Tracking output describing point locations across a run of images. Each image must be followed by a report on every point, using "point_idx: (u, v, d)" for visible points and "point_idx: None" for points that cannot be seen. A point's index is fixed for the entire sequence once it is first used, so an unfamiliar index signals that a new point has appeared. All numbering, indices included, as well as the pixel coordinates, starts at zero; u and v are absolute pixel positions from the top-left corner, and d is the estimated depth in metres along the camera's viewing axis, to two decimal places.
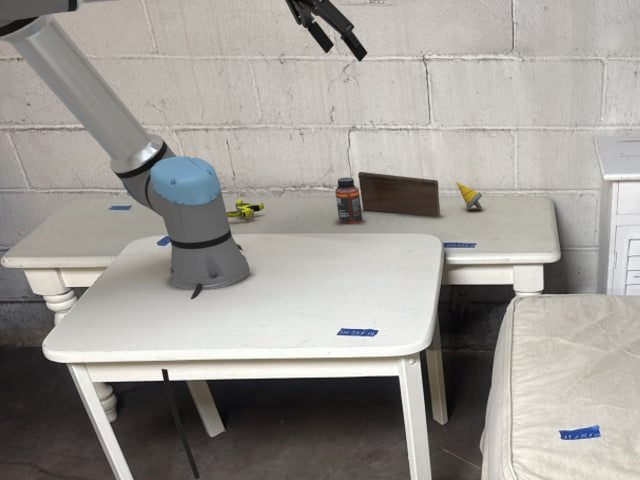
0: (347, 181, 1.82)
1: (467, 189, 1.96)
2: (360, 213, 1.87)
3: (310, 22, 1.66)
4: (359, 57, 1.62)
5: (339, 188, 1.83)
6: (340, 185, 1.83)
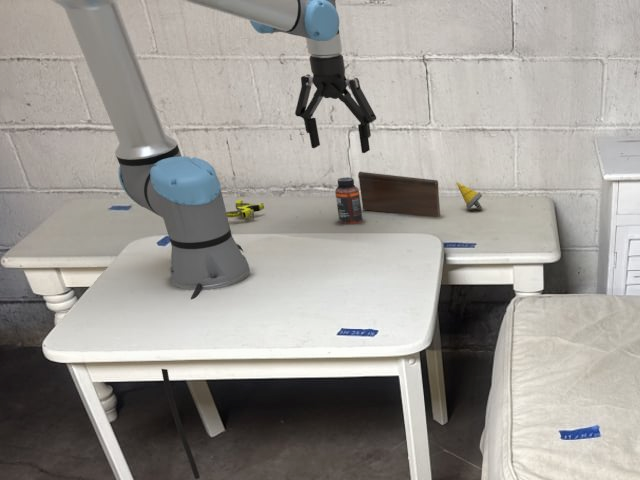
0: (347, 181, 1.82)
1: (467, 189, 1.96)
2: (360, 213, 1.87)
3: (310, 116, 1.75)
4: (365, 149, 1.75)
5: (339, 188, 1.83)
6: (340, 185, 1.83)
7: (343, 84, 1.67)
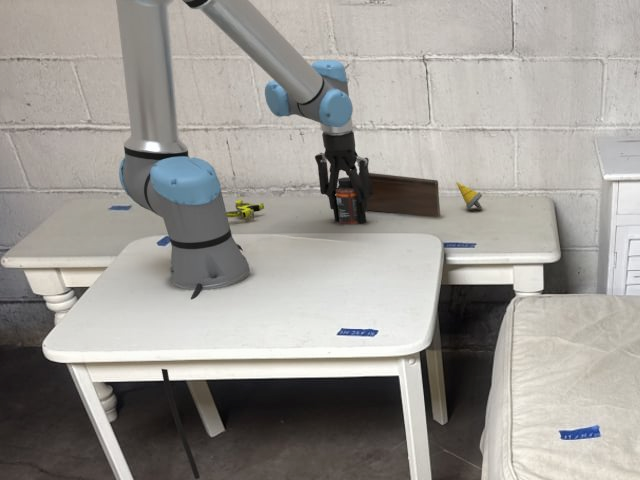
0: (348, 181, 1.82)
1: (467, 189, 1.96)
2: None
3: (334, 193, 1.86)
4: (362, 222, 1.87)
5: (340, 188, 1.83)
6: (341, 185, 1.83)
7: (353, 160, 1.77)
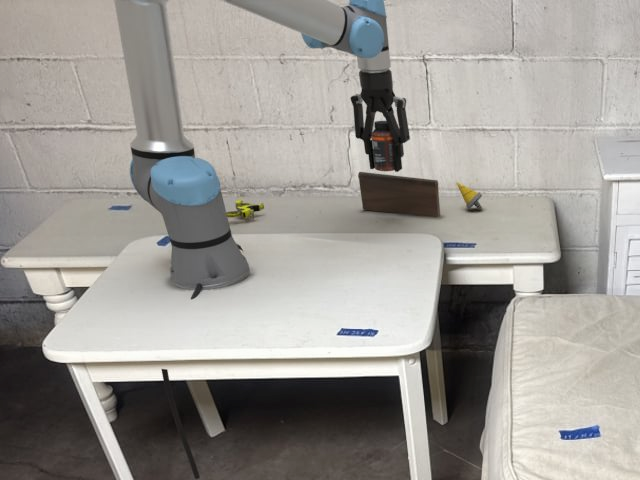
0: (384, 124, 1.76)
1: (467, 189, 1.96)
2: None
3: (369, 137, 1.79)
4: (398, 168, 1.81)
5: (376, 131, 1.77)
6: (377, 128, 1.76)
7: (391, 100, 1.71)
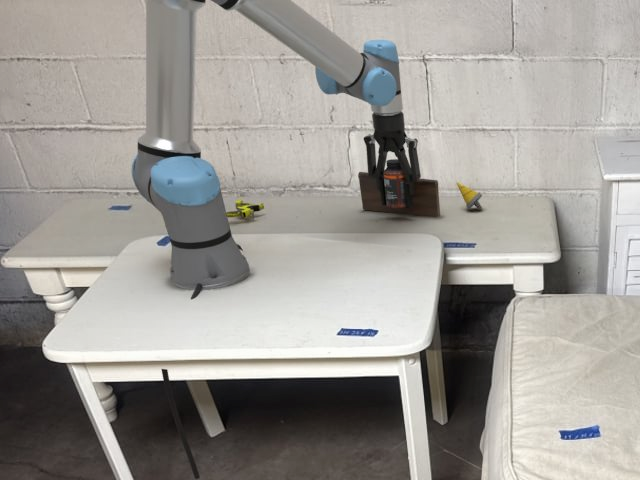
0: (396, 163, 1.81)
1: (467, 189, 1.96)
2: None
3: (381, 175, 1.85)
4: (409, 204, 1.86)
5: (388, 170, 1.82)
6: (389, 167, 1.82)
7: (403, 141, 1.77)
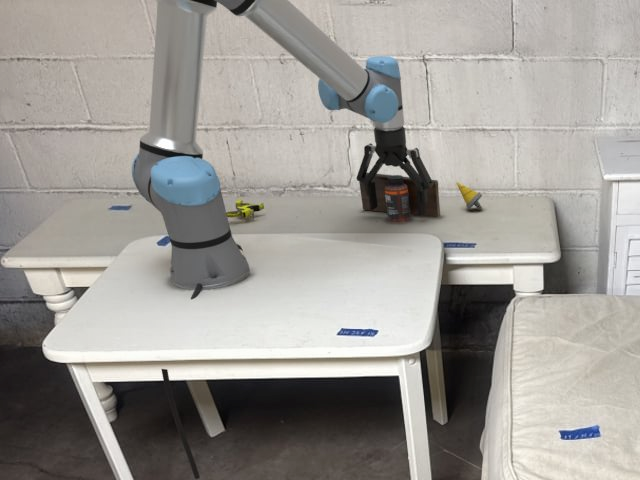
0: (397, 179, 1.84)
1: (467, 189, 1.96)
2: (408, 210, 1.89)
3: (370, 181, 1.87)
4: (421, 212, 1.86)
5: (389, 186, 1.85)
6: (390, 183, 1.84)
7: (404, 154, 1.79)
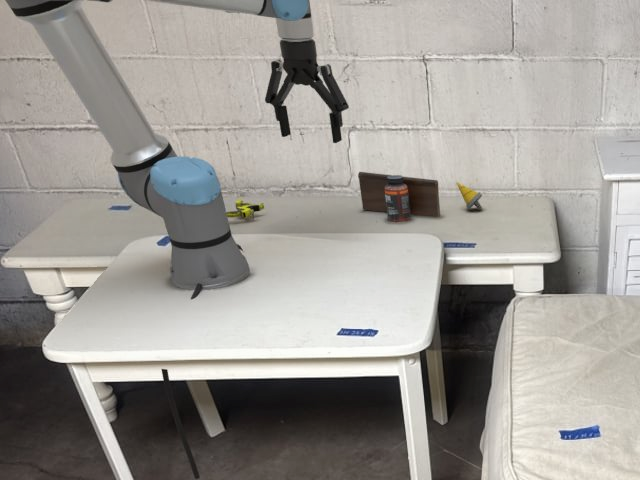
0: (397, 179, 1.84)
1: (467, 189, 1.96)
2: (408, 210, 1.89)
3: (280, 104, 1.69)
4: (336, 139, 1.68)
5: (389, 186, 1.85)
6: (390, 183, 1.84)
7: (314, 70, 1.61)
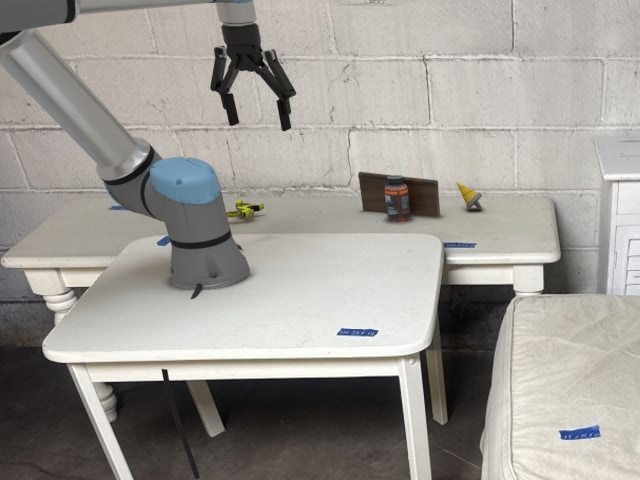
0: (397, 179, 1.84)
1: (467, 189, 1.96)
2: (408, 210, 1.89)
3: (226, 91, 1.63)
4: (285, 127, 1.63)
5: (389, 186, 1.85)
6: (390, 183, 1.84)
7: (258, 55, 1.55)
